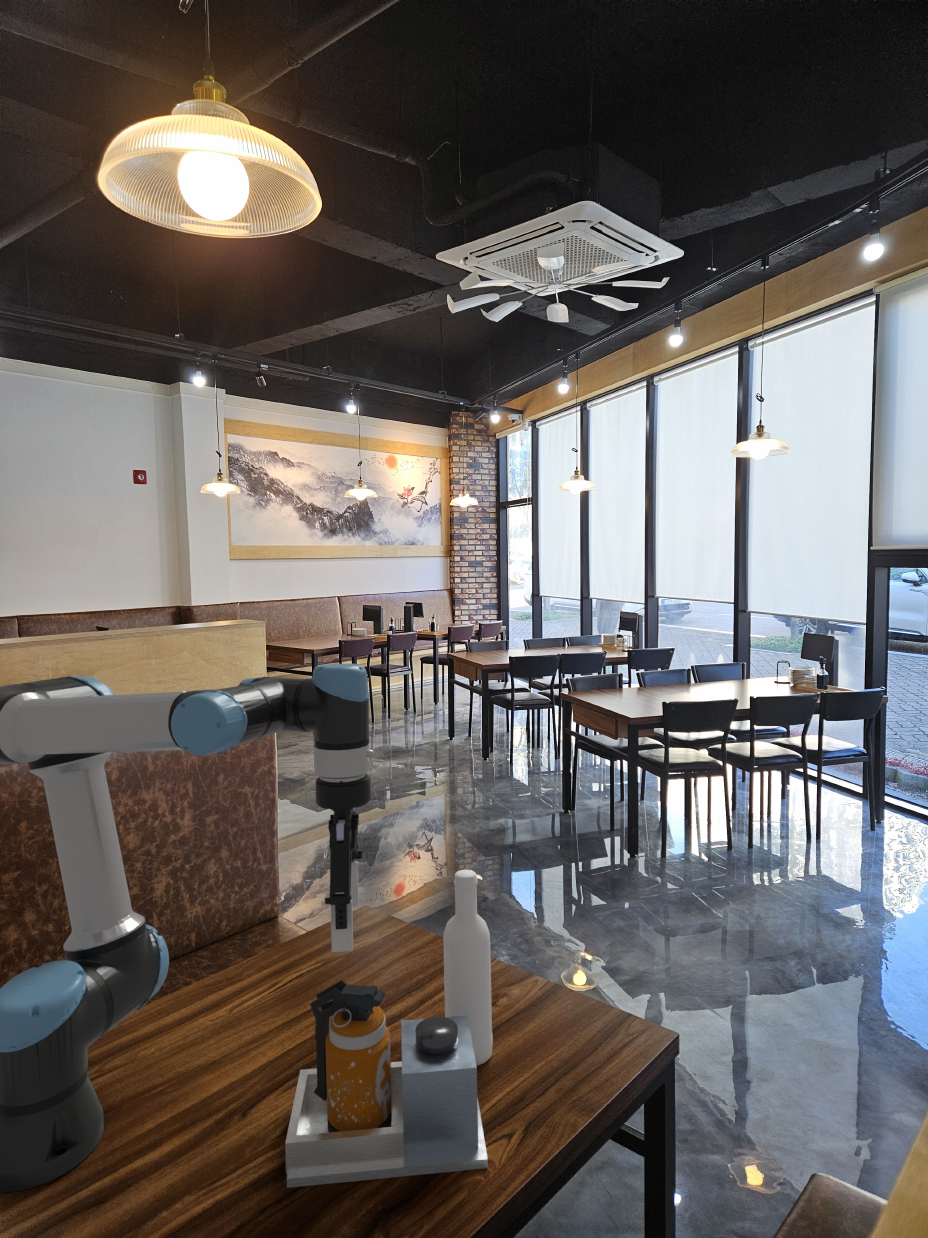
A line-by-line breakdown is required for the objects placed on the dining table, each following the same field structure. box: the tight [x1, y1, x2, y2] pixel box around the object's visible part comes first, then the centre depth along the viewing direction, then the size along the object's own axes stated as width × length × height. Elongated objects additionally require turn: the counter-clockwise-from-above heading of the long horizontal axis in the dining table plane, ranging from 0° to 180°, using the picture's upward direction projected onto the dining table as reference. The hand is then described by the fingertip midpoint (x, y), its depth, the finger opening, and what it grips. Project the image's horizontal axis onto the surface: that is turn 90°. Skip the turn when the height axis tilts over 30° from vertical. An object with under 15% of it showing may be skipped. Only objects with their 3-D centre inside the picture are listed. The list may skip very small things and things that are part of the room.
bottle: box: [442, 869, 494, 1067], centre depth 116 cm, size 8×8×30 cm
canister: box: [309, 979, 392, 1133], centre depth 99 cm, size 9×11×20 cm
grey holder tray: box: [284, 1015, 489, 1189], centre depth 99 cm, size 26×16×14 cm, turn 96°
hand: (346, 926), depth 98 cm, fingers open, 13 cm apart
